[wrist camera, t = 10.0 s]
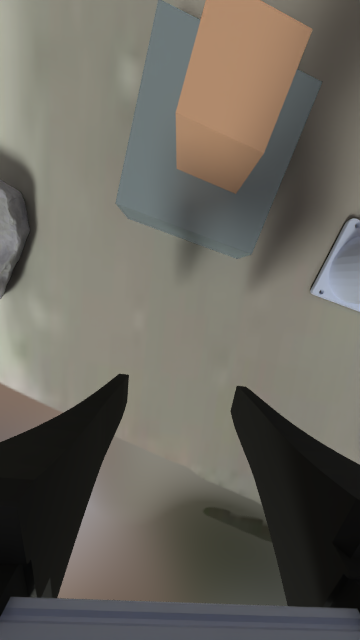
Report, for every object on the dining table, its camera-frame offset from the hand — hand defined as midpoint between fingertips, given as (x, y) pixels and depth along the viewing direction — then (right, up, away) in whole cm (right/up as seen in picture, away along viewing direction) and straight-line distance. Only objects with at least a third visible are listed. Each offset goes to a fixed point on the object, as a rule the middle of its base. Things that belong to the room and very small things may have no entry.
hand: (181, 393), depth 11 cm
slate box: (+2, +19, +5) cm, 20 cm away
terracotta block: (+3, +18, +2) cm, 18 cm away
